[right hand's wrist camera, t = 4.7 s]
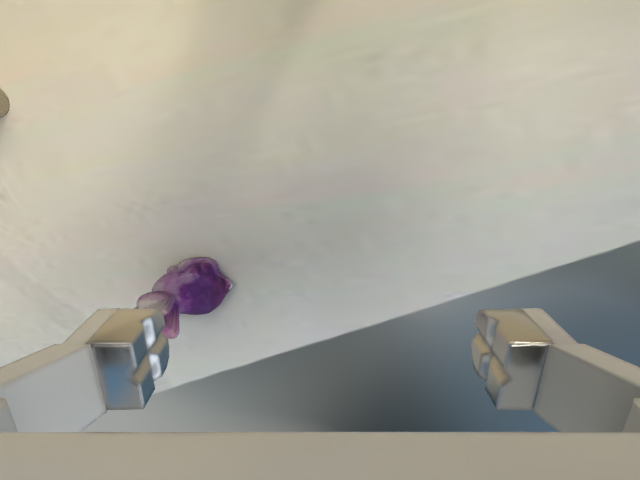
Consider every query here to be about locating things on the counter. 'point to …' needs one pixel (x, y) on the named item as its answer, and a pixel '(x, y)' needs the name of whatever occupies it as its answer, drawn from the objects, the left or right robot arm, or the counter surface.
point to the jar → (3, 103)
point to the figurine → (186, 292)
